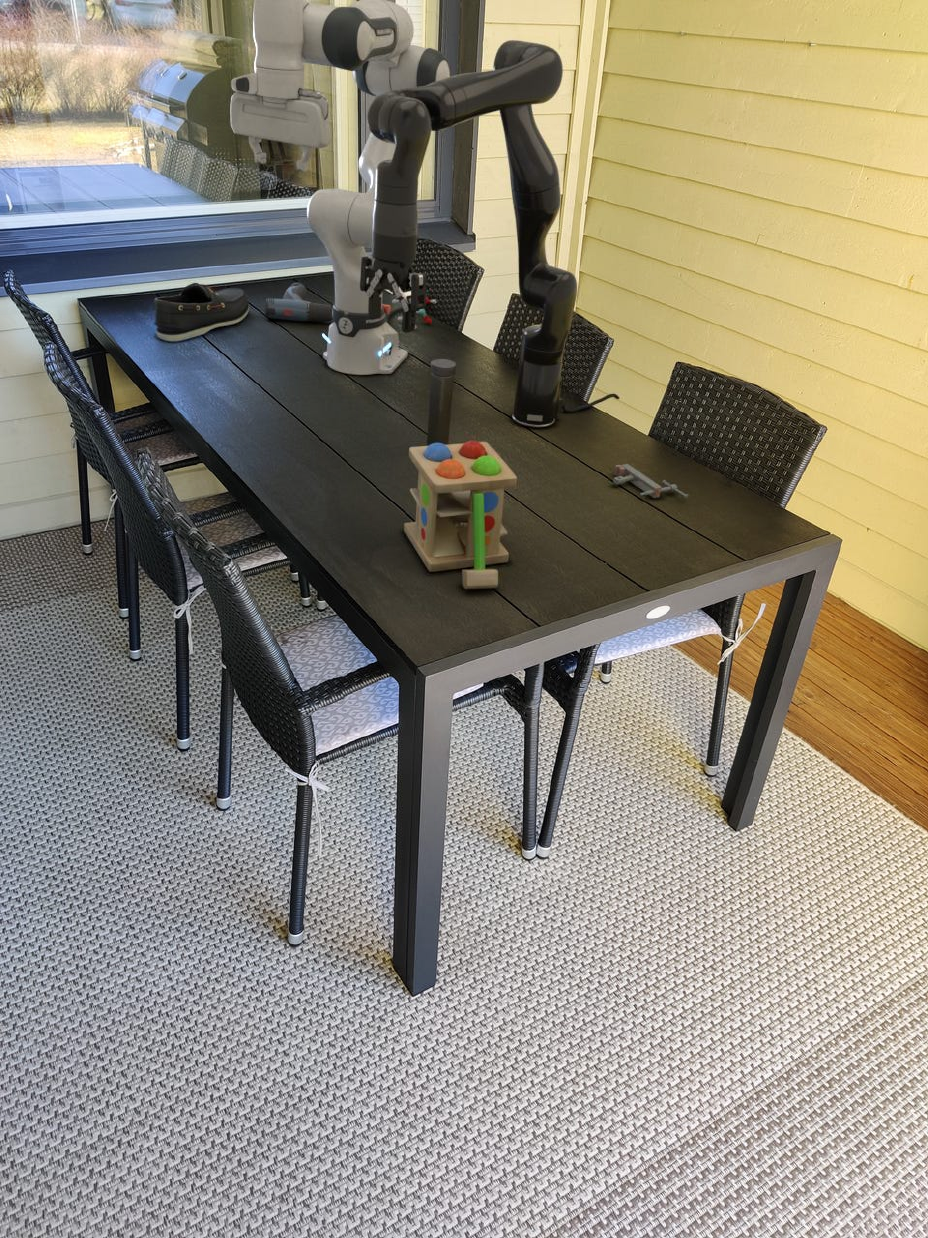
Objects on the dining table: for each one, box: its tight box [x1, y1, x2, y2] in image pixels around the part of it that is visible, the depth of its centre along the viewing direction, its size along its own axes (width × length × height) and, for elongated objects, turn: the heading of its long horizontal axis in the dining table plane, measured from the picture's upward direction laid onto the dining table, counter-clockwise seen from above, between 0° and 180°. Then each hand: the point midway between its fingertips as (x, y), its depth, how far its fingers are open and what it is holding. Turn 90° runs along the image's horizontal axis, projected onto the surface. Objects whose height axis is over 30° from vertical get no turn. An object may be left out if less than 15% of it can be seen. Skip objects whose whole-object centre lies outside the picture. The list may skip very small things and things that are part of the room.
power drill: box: [264, 282, 333, 322], centre depth 265 cm, size 5×19×20 cm
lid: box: [430, 358, 457, 377], centre depth 189 cm, size 5×5×2 cm
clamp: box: [612, 463, 689, 500], centre depth 193 cm, size 15×2×10 cm
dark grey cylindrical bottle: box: [426, 373, 455, 446], centre depth 194 cm, size 4×4×19 cm
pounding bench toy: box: [403, 440, 518, 590], centre depth 161 cm, size 23×14×18 cm, turn 20°
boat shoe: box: [153, 282, 250, 342], centre depth 250 cm, size 13×33×10 cm, turn 147°
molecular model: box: [391, 297, 437, 331], centre depth 264 cm, size 12×10×10 cm
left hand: (281, 166), depth 187 cm, fingers open, 8 cm apart
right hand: (391, 324), depth 173 cm, fingers open, 8 cm apart
